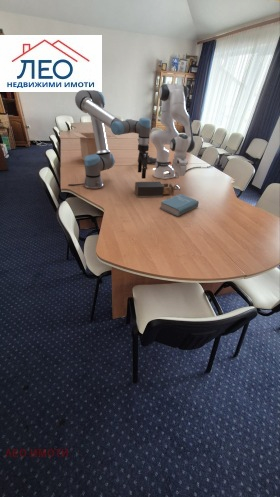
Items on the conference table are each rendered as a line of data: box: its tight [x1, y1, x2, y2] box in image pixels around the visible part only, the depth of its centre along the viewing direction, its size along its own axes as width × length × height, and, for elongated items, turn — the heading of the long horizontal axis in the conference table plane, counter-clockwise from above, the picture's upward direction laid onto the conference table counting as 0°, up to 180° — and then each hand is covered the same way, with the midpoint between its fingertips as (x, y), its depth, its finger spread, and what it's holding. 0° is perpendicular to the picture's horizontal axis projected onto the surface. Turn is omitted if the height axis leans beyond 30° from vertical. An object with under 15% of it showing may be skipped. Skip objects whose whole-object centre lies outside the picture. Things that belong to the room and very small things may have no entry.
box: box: [70, 129, 114, 161], centre depth 229 cm, size 44×36×27 cm
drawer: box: [161, 182, 181, 195], centre depth 174 cm, size 24×10×6 cm, turn 102°
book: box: [159, 193, 200, 217], centre depth 155 cm, size 23×16×5 cm
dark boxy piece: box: [134, 181, 164, 198], centre depth 172 cm, size 20×11×8 cm, turn 102°
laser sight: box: [146, 151, 157, 165], centre depth 240 cm, size 10×22×10 cm, turn 78°
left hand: (141, 175), depth 164 cm, fingers open, 13 cm apart
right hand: (176, 177), depth 171 cm, fingers closed
